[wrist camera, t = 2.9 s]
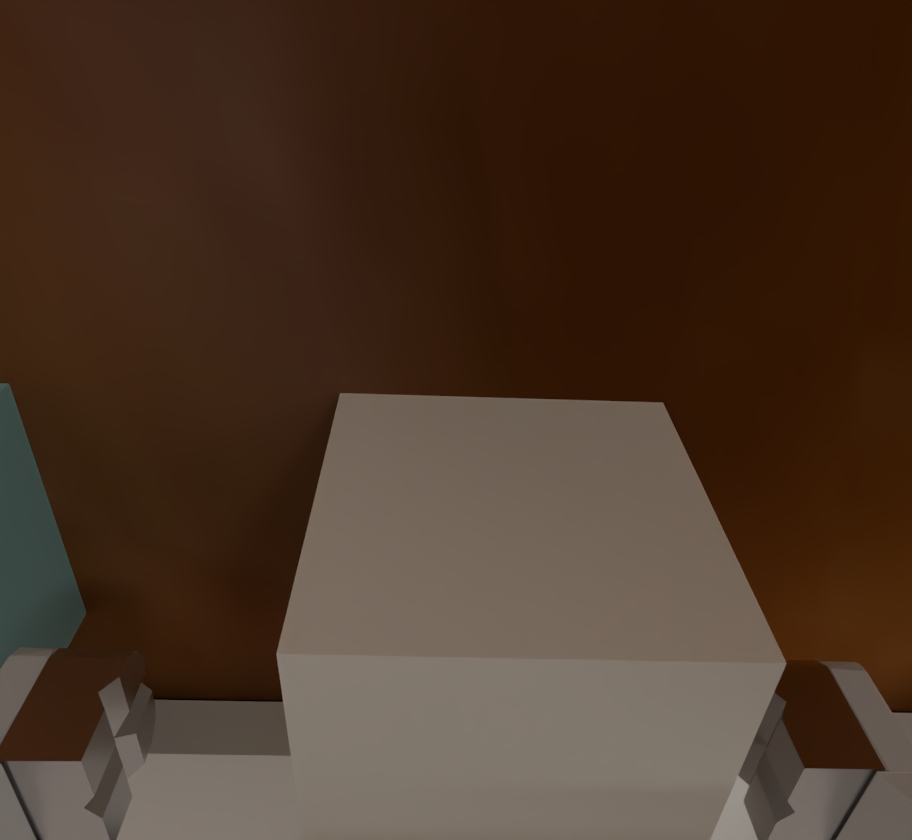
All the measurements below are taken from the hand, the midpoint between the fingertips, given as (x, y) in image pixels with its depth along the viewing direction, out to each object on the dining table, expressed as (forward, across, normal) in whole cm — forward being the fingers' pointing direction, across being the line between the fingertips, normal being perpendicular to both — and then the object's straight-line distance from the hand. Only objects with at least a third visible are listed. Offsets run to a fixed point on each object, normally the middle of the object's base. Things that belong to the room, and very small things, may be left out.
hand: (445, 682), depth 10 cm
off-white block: (+3, -1, 0) cm, 3 cm away
